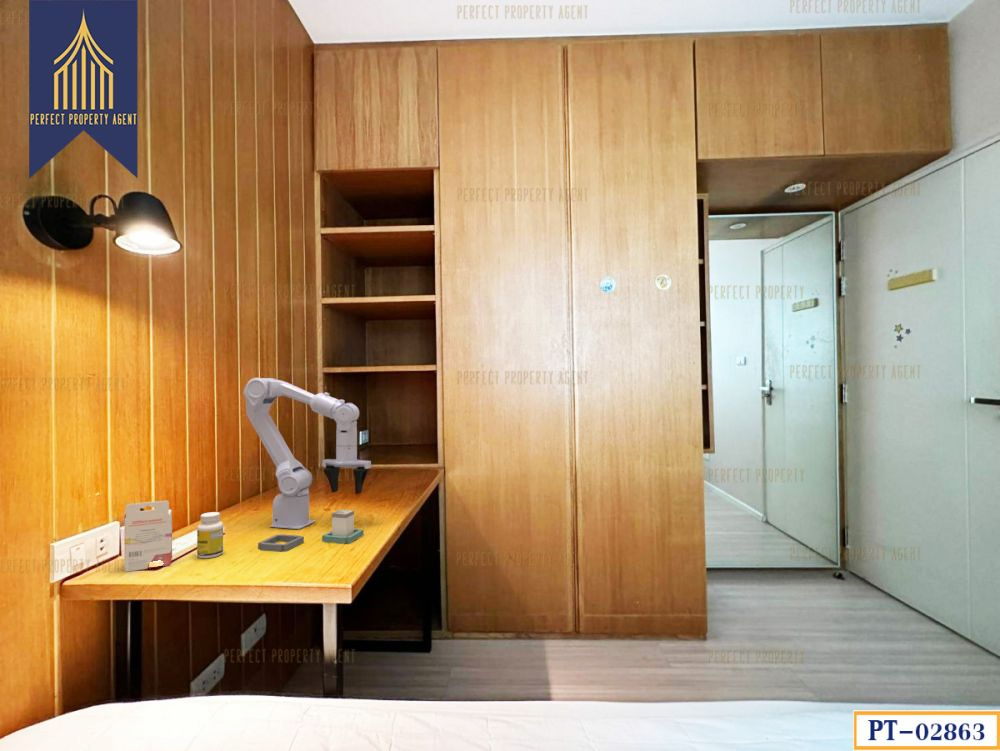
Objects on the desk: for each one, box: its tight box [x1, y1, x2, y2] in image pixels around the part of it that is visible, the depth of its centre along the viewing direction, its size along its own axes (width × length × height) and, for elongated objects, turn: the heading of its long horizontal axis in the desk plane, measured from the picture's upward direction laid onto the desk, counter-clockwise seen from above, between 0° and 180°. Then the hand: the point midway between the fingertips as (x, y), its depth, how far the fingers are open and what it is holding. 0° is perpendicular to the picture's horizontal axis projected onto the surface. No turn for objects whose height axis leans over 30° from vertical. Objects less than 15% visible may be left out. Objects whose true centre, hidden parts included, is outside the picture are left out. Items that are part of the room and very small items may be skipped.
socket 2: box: [321, 528, 365, 544], centre depth 134 cm, size 8×8×2 cm
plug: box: [331, 509, 355, 537], centre depth 134 cm, size 4×4×7 cm
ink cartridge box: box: [123, 500, 173, 573], centre depth 114 cm, size 9×5×15 cm, turn 118°
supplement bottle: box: [196, 511, 224, 559], centre depth 121 cm, size 5×5×10 cm
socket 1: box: [257, 533, 305, 552], centre depth 128 cm, size 8×8×2 cm
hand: (346, 492), depth 147 cm, fingers open, 7 cm apart
